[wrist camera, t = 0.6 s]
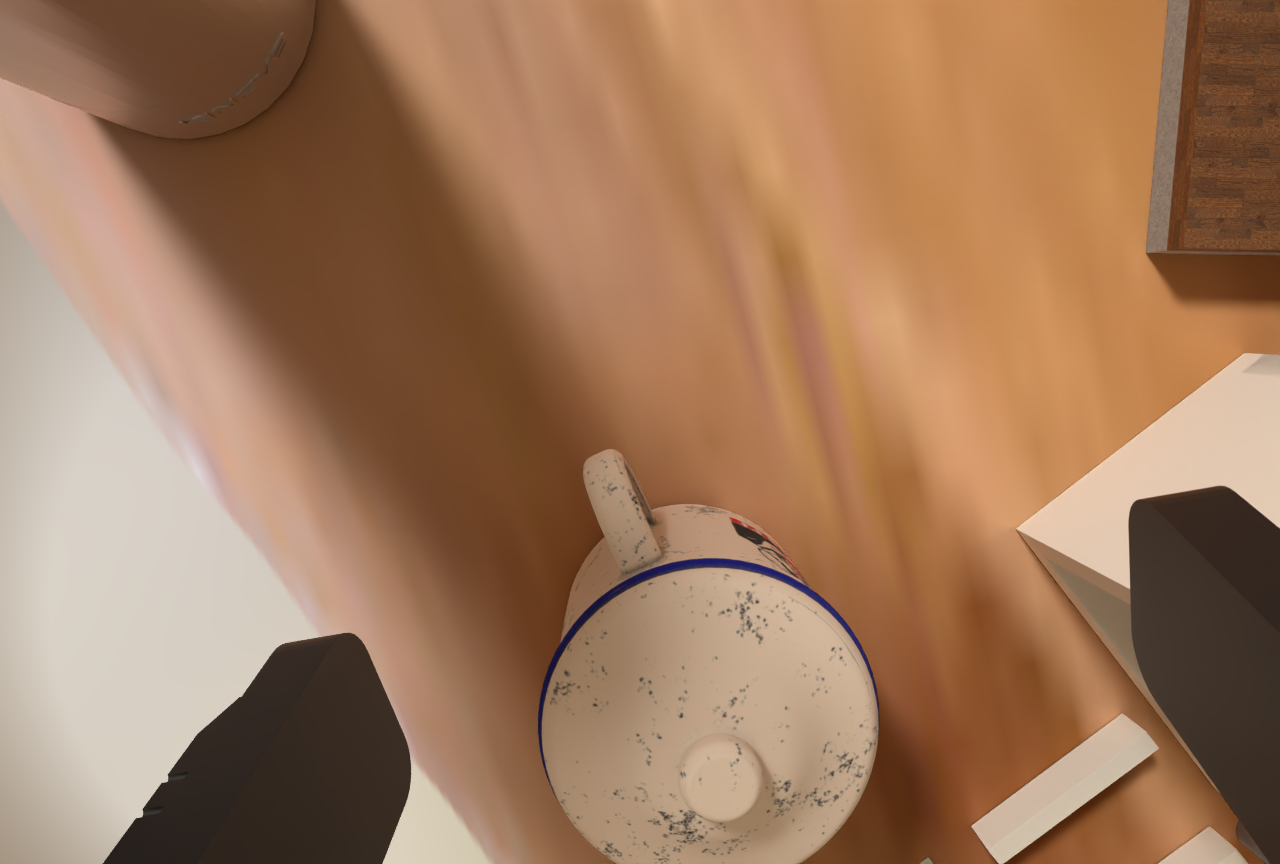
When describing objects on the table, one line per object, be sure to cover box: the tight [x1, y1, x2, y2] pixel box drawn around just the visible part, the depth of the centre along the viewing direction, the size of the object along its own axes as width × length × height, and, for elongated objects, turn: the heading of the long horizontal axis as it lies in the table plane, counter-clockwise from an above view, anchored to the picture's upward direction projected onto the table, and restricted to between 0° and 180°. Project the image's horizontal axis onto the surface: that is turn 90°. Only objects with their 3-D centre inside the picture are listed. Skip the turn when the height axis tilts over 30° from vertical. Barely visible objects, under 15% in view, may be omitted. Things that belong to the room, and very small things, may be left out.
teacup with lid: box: [538, 449, 879, 864], centre depth 26 cm, size 12×9×12 cm
